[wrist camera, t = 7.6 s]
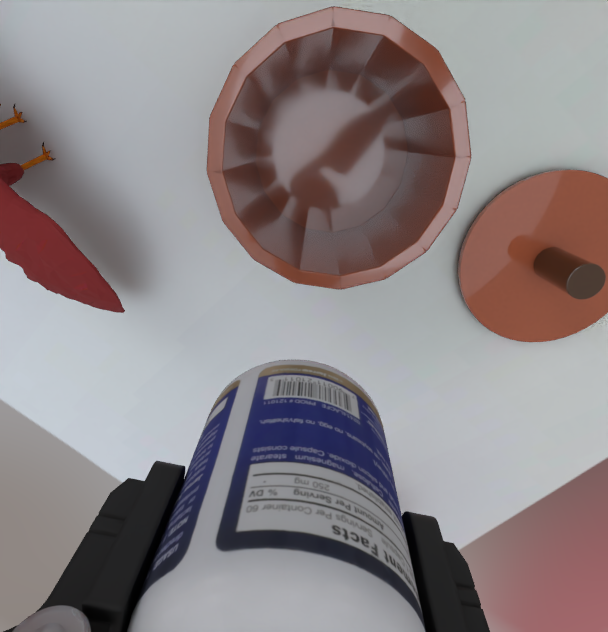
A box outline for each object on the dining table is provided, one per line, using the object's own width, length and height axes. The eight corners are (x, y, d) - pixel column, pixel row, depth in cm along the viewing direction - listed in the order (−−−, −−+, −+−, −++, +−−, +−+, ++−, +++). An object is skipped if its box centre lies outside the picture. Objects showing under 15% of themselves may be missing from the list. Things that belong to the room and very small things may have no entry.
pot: (225, 88, 31) (169, 57, 20) (400, 35, 30) (452, -32, 18) (273, 255, 36) (251, 310, 24) (427, 217, 34) (482, 257, 23)
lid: (445, 195, 33) (471, 206, 28) (636, 147, 32) (706, 148, 26) (465, 351, 38) (491, 387, 33) (631, 317, 37) (689, 349, 31)
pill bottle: (272, 512, 16) (201, 1021, 7) (178, 401, 14) (-90, 888, 5) (412, 452, 15) (558, 992, 5) (327, 320, 13) (332, 794, 4)
